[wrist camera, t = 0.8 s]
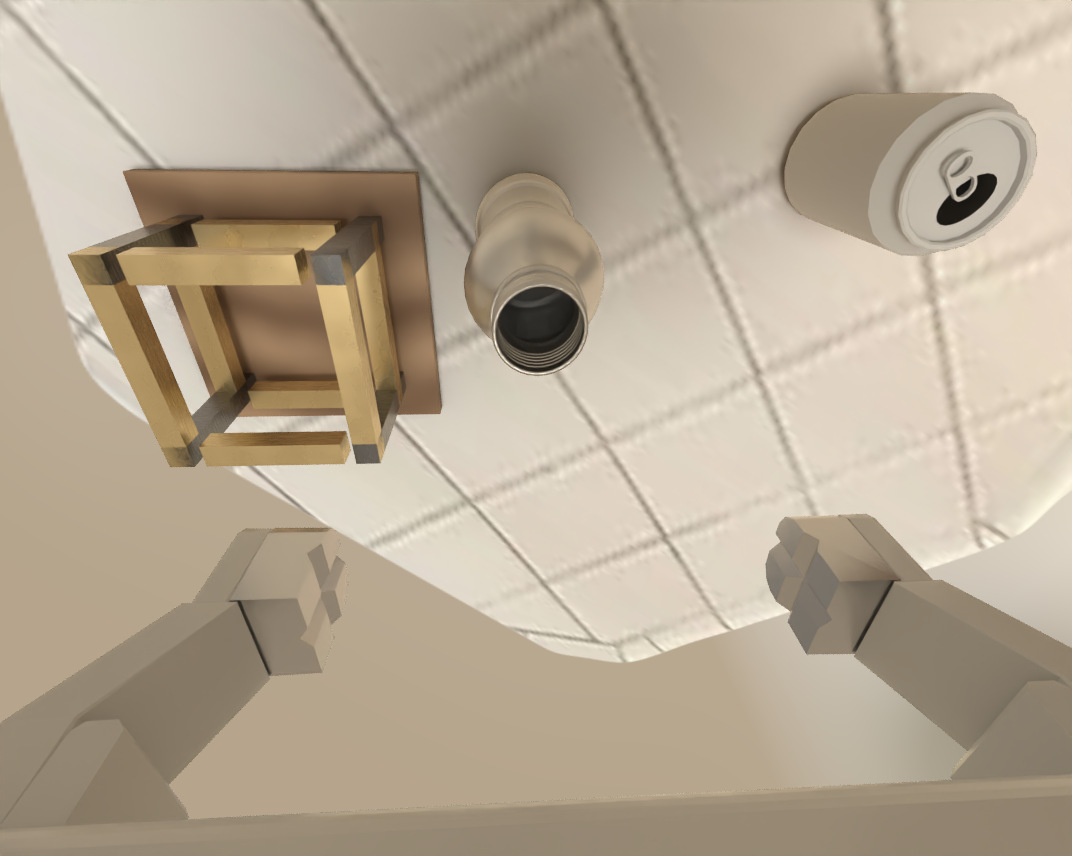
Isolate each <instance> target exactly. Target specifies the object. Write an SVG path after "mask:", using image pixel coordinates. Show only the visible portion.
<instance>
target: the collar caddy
mask: <svg viewBox="0 0 1072 856" xmlns="http://www.w3.org/2000/svg"><path fill="white" fill-rule="evenodd" d="M384 240H385V237H384V230H383V223H382V216H358V217H356V218H355V219H354V220H353V221H351V222H350V223H349V224H348V225H346V226H345V227H344V228H343V229H342V224H341V220H204V217H203V215H177V216H174V217H171V218H168V219H166V220H163V221H160V222H157V223H155V224H152V225H149V226H146V227H143V228H141V229H138V230H135V231H132V232H129V233H127V234H124V235H121V236H118V237H116V238H113V239H110V240H107V241H104V242H102V243H99V244H96V245H93V246H91V247H88V248H85V249H82V250H79V251H77V252H74V253H71V254H68V256H69V259H70V261H71V263H72V265H73V267H74V269H75V271H76V273H77V275H78V277H79V279H80V281H81V283H82V285H83V288H84V290H85V292H86V294H87V296H88V298H89V300H90V302H91V304H92V306H93V308H94V310H95V312H96V314H97V317H98V319H99V321H100V323H101V325H102V327H103V329H104V331H105V333H106V335H107V337H108V339H109V341H110V343H111V345H112V348H113V350H114V352H115V354H116V356H117V358H118V360H119V362H120V364H121V366H122V368H123V370H124V372H125V374H126V377H127V379H128V381H129V383H130V385H131V387H132V389H133V391H134V393H135V395H136V397H137V399H138V401H139V403H140V406H141V408H142V410H143V412H144V414H145V416H146V418H147V420H148V422H149V424H150V426H151V428H152V430H153V432H154V434H155V436H156V439H157V441H158V443H159V445H160V447H161V449H162V451H163V453H164V455H165V457H166V459H167V461H168V463H169V465H170V467H195V466H196V465H197V464H198V462H199V461H200V460H201V459H202V458H204V460H205V462H206V465H207V466H257V465H312V464H345V462H346V460H347V457H348V455H349V453H350V451H351V449H350V445H349V441H348V436H347V432H346V431H334V432H268V433H224V432H225V430H226V429H227V428H228V427H229V426H230V424H231V423H232V422H233V421H234V420H235V418H236V417H237V416H238V415H239V414H240V412H241V411H242V410H243V409H244V408H245V407H246V405H247V404H248V403H249V402H250V401H251V402H252V405H253V408H254V409H290V408H344V410H345V415H346V419H347V424H348V428H349V432H350V437H351V441H352V446H353V450H354V455H355V459H356V463H357V464H367V463H381V460H382V457H383V454H384V451H385V448H386V445H387V443H388V440H389V437H390V434H391V431H392V428H393V425H394V422H395V419H396V416H397V413H398V410H399V407H400V405H401V402H402V399H403V396H404V393H405V390H406V383H405V376H404V371H399V367H398V360H397V354H396V347H395V340H394V334H393V327H392V320H391V313H390V307H389V300H388V293H387V287H386V280H385V273H384V267H383V260H382V253H381V246H380V244H381V243H382V242H383V241H384ZM305 250H315V251H314V252H313V253H312V254H310V255H309V256H310V260H311V265H312V269H313V273H314V278H315V282H316V287H317V291H318V295H319V300H320V304H321V309H322V313H323V318H324V322H325V326H326V331H327V335H328V340H329V344H330V349H331V353H332V357H333V362H334V366H335V371H336V375H337V379H338V381H270V382H257V379H256V376H255V373H243V371H242V369H241V366H240V363H239V360H238V357H237V354H236V351H235V348H234V345H233V342H232V339H231V336H230V333H229V330H228V327H227V324H226V321H225V318H224V315H223V313H222V310H221V307H220V304H219V301H218V298H217V295H216V292H215V289H214V286H213V285H302V284H303V283H304V282H305V281H306V280H307V279H309V278H310V277H311V276H310V271H309V267H308V263H307V258H306V254H305ZM354 275H356V280H357V286H358V291H359V297H360V302H361V308H362V313H363V319H364V324H365V330H366V335H367V341H368V346H369V352H370V358H371V363H372V369H373V374H374V380H375V385H376V392H374V387H373V381H372V376H371V370H370V365H369V359H368V354H367V349H366V343H365V338H364V332H363V327H362V321H361V316H360V310H359V305H358V300H357V294H356V289H355V283H354V278H353V276H354ZM136 285H175V286H176V288H177V291H178V294H179V296H180V299H181V301H182V304H183V307H184V309H185V312H186V315H187V317H188V320H189V322H190V325H191V328H192V330H193V333H194V336H195V338H196V341H197V343H198V346H199V349H200V351H201V354H202V357H203V359H204V362H205V364H206V367H207V370H208V372H209V375H210V378H211V380H212V383H213V385H214V388H215V391H216V392H215V393H214V394H213V395H212V396H211V397H210V398H209V399H208V400H207V401H206V402H205V403H204V404H203V405H202V406H201V407H200V408H199V409H198V410H197V411H196V412H195V413H194V414H193V415H192V416H191V414H190V412H189V410H188V407H187V405H186V403H185V400H184V398H183V395H182V393H181V391H180V388H179V386H178V384H177V381H176V379H175V377H174V374H173V372H172V370H171V367H170V365H169V362H168V360H167V358H166V355H165V353H164V351H163V348H162V346H161V344H160V341H159V339H158V337H157V334H156V332H155V329H154V327H153V325H152V322H151V320H150V318H149V315H148V313H147V311H146V308H145V306H144V304H143V301H142V299H141V297H140V294H139V292H138V289H137V287H136Z"/></svg>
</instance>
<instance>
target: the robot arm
mask: <svg viewBox="0 0 1072 856" xmlns="http://www.w3.org/2000/svg"><path fill="white" fill-rule="evenodd" d="M776 535H777V536H778V538H779V540H780V543H779V544H777V545H776V546H775V547H774V548H773V549H771V550H770V551H769V554H768V558H767V561H766V579H767V582H768V585H769V588H770V591H771V593H772V594H773V596H774V598H775V600H776V602H778V603H779V604H781V605H782V606H784V607H785V608H786V609H788V610H789V611H790V615H789V619H788V623H789V624H790V627H791V628H792V630H793V632H794V633H795V635H796V637H797V639H798V640H799V642H800V644H801V646H802V647H803V649H804V651H805V653H806V654H855V655H854V657H855V658H856V659H858V660H859V661H860V662H861V663H863V664H864V665H865V666H866V667H867V668H868V669H870V670H871V671H872V672H873V673H875V674H876V675H877V676H878V677H879V678H881V679H882V680H883V681H884V682H886V683H887V684H888V685H889V686H890V687H892V688H893V689H894V690H895V691H896V692H897V693H899V694H900V695H901V696H902V697H903V698H905V699H906V700H907V701H908V702H909V703H911V704H912V705H913V706H914V707H915V708H917V709H918V710H919V711H920V712H921V713H923V714H924V715H925V716H926V717H927V718H929V719H930V720H931V721H932V722H933V723H935V724H936V725H937V726H938V727H939V728H941V729H942V730H943V731H944V732H945V733H947V734H948V735H949V736H950V737H952V738H953V739H954V740H955V741H956V742H957V743H959V744H960V745H961V746H962V747H963V748H965V749H966V750H967V751H968V752H967V753H966V754H965V755H964V756H963V757H962V759H961V760H960V761H959V762H958V763H957V764H956V766H955V767H954V768H953V771H952V774H951V779H952V780H941V781H921V782H902V783H883V784H863V785H843V786H823V787H803V788H784V789H766V790H765V789H764V790H744V791H725V792H705V793H686V794H666V795H646V796H628V797H610V798H591V799H590V798H589V799H570V800H553V801H552V800H551V801H533V802H532V801H531V802H514V803H495V804H494V803H493V804H474V805H456V806H435V807H417V808H399V809H398V808H397V809H378V810H359V811H340V812H320V813H302V814H282V815H262V816H243V817H224V818H205V819H188V818H189V816H188V813H187V811H186V808H185V807H184V805H183V804H182V803H181V801H180V800H179V799H178V797H177V796H176V795H175V793H174V792H173V791H172V789H171V788H170V787H169V784H170V783H171V782H172V781H173V780H174V779H175V778H176V777H177V775H178V774H179V773H180V772H181V771H182V770H183V769H184V768H185V767H186V766H187V765H188V764H189V763H190V762H191V761H192V760H193V759H194V758H195V757H196V756H197V755H198V753H200V752H201V750H202V749H203V748H204V747H205V746H206V745H207V744H208V743H209V742H210V741H211V740H212V739H213V738H214V737H215V736H216V735H217V734H218V733H219V732H220V731H221V730H222V729H223V728H224V727H225V725H226V724H227V723H228V722H229V721H230V720H231V719H232V718H233V717H234V716H235V715H236V714H237V713H238V712H239V711H240V710H241V709H242V708H243V707H244V705H246V704H247V703H248V702H249V701H250V699H251V698H252V697H253V696H254V695H255V694H256V693H257V692H258V691H259V690H260V689H261V688H262V687H263V686H264V685H265V684H266V683H267V682H268V681H269V679H270V677H269V676H278V675H294V674H309V673H322V672H323V669H324V666H325V663H326V660H327V657H328V655H329V652H330V649H331V646H332V643H333V640H334V635H333V631H332V628H331V624H333V623H334V622H335V621H336V620H337V619H338V618H339V617H340V616H341V615H342V613H343V610H344V606H345V603H346V598H347V590H348V575H347V569H346V564H345V562H344V561H342V560H341V559H340V558H339V557H338V556H336V554H337V552H338V549H339V547H340V541H339V538H338V535H337V531H336V530H334V529H332V528H275V529H245V530H243V531H241V532H240V533H238V534H237V536H236V537H235V539H234V540H233V542H232V543H231V545H230V546H229V548H228V549H227V551H226V552H225V554H224V555H223V557H222V558H221V560H220V561H219V563H218V564H217V566H216V567H215V569H214V570H213V572H212V573H211V575H210V576H209V578H208V579H207V581H206V582H205V584H204V586H203V587H202V588H201V590H200V591H199V593H198V595H197V596H196V598H195V599H194V601H193V602H192V603H183V604H181V605H179V606H178V607H176V608H174V609H173V610H172V611H170V612H168V613H167V614H165V615H164V616H162V617H161V618H159V619H158V620H156V621H155V622H153V623H152V624H150V625H149V626H147V627H145V628H144V629H143V630H141V631H140V632H138V633H136V634H135V635H133V636H132V637H130V638H129V639H127V640H126V641H124V642H123V643H121V644H120V645H118V646H117V647H115V648H114V649H112V650H110V651H109V652H107V653H106V654H104V655H103V656H101V657H100V658H98V659H97V660H95V661H94V662H92V663H91V664H89V665H88V666H86V667H84V668H83V669H81V670H80V671H78V672H77V673H75V674H74V675H72V676H71V677H69V678H68V679H66V680H65V681H63V682H62V683H60V684H58V685H57V686H55V687H54V688H52V689H51V690H49V691H48V692H46V693H45V694H43V695H42V696H40V697H39V698H37V699H36V700H34V701H33V702H31V703H30V704H28V705H26V706H25V707H24V708H22V709H21V710H19V711H17V712H16V713H14V714H13V715H11V716H10V717H8V718H7V719H5V720H4V721H2V722H1V724H0V856H1072V648H1070V647H1069V646H1067V645H1065V644H1063V643H1061V642H1059V641H1057V640H1055V639H1053V638H1052V637H1050V636H1048V635H1046V634H1044V633H1042V632H1040V631H1038V630H1036V629H1034V628H1032V627H1031V626H1028V625H1027V624H1025V623H1023V622H1021V621H1019V620H1017V619H1015V618H1013V617H1011V616H1009V615H1008V614H1006V613H1004V612H1002V611H1000V610H998V609H996V608H994V607H992V606H990V605H989V604H987V603H985V602H983V601H981V600H979V599H977V598H975V597H973V596H971V595H969V594H968V593H966V592H964V591H962V590H960V589H958V588H956V587H954V586H952V585H950V584H949V583H947V582H944V581H943V580H932V578H931V577H930V576H929V575H928V574H927V573H926V572H925V571H924V570H923V569H922V568H921V567H920V566H919V565H918V563H917V562H916V561H915V560H914V559H913V558H912V557H911V556H910V555H909V554H908V553H907V552H906V551H905V550H904V549H903V548H902V547H901V545H900V544H899V543H898V542H897V541H896V540H895V539H894V538H893V537H892V536H891V535H890V534H889V533H888V532H887V531H886V530H885V529H884V527H883V526H882V525H881V524H880V523H879V522H878V521H877V520H876V519H875V518H873V517H871V516H869V515H867V514H851V515H838V516H804V517H785V518H784V519H783V520H782V521H781V522H780V523H779V526H778V528H777V531H776Z"/></svg>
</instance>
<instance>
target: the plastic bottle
mask: <svg viewBox="0 0 1072 856" xmlns="http://www.w3.org/2000/svg"><path fill="white" fill-rule="evenodd" d="M475 232H476V240H477V241H476V243H475V245H474V247H473V249H472V251H471V253H470V255H469V258H468V261H467V265H466V268H465V277H464V289H465V298H466V301H467V304H468V308H469V311H470V312H471V314H472V316H473V318H474V320H475V322H476V323H477V324H478V326H479V327H480V328H481V329H482V331H483V332H484V333H485V334H486V335H487V336H488V337H489V338H490V339H492V340H493V343H494V346H495V349H496V351H497V353H498V355H499V356H500V357H501V359H502V360H503V361H504V362H505V363H506V364H507V365H508V366H509V367H511V368H512V369H514V370H516V371H518V372H520V373H523V374H526V375H534V376H541V375H548V374H552V373H555V372H557V371H560V370H562V369H563V368H565V367H566V366H568V365H569V364H570V363H571V362H573V361H574V360H575V359H576V358H577V356H578V355H579V353H580V352H581V351H582V348H583V346H584V344H585V342H586V338H587V334H588V324H589V323H590V321H591V320H592V318H593V316H594V314H595V312H596V310H597V307H598V305H599V302H600V299H601V295H602V291H603V284H604V269H603V262H602V258H601V255H600V252H599V249H598V246H597V245H596V243H595V241H594V240H593V238H592V236H591V235H590V233H589V232H588V231H587V230H586V229H585V228H584V227H583V226H582V225H581V224H580V223H579V222H578V221H576V220H575V219H574V217H573V211H572V208H571V205H570V202H569V200H568V198H567V197H566V195H565V193H564V192H563V191H562V190H561V189H560V188H559V186H558V185H557V184H555V183H554V182H553V181H551V180H550V179H548V178H546V177H543V176H541V175H538V174H532V173H518V174H515V175H511V176H508V177H506V178H504V179H503V180H501V181H499V182H498V183H497V184H495V185H494V186H493V187H492V188H491V189H490V190H489V191H488V193H487V194H486V195H485V196H484V198H483V200H482V202H481V204H480V206H479V209H478V212H477V216H476V224H475Z"/></svg>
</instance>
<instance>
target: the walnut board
mask: <svg viewBox="0 0 1072 856" xmlns="http://www.w3.org/2000/svg"><path fill="white" fill-rule="evenodd" d="M123 174H124V176H125V179H126V182H127V184H128V187H129V189H130V192H131V194H132V197H133V200H134V202H135V205H136V207H137V210H138V212H139V215H140V217H141V220H142V223H143V225H144V227H146V226H149V225H152V224H155V223H157V222H160V221H163V220H166V219H168V218H171V217H174V216H177V215H203V217H204V220H341V224H342V229H343V228H344V227H345V226H346V225H348V224H349V223H350V222H351V221H353V220H354V219H355V218H356V217H358V216H382V223H383V230H384V237H385V240H384V241H383V242H382V243H381V244H380V246H381V253H382V260H383V267H384V273H385V280H386V287H387V293H388V300H389V307H390V313H391V320H392V327H393V334H394V340H395V347H396V354H397V360H398V367H399V371H404V376H405V383H406V390H405V393H404V396H403V399H402V402H401V405H400V407H399V410H398V413H397V415H401V414H440V413H441V408H442V404H441V394H440V385H439V375H438V365H437V355H436V345H435V336H434V326H433V316H432V306H431V296H430V287H429V277H428V267H427V257H426V247H425V238H424V228H423V218H422V208H421V198H420V189H419V179H418V172H360V171H264V170H168V169H133V170H127V171H123ZM314 251H315V250H305V254H306V258H307V263H308V267H309V271H310V276H311V277H310V278H309V279H307V280H306V281H305V282H304V283H303V284H302V285H213V286H214V289H215V292H216V295H217V298H218V301H219V304H220V307H221V310H222V313H223V315H224V318H225V321H226V324H227V327H228V330H229V333H230V336H231V339H232V342H233V345H234V348H235V351H236V354H237V357H238V360H239V363H240V366H241V369H242V371H243V373H255V376H256V379H257V382H270V381H338V379H337V375H336V371H335V366H334V362H333V357H332V353H331V349H330V344H329V340H328V335H327V331H326V326H325V322H324V318H323V313H322V309H321V304H320V300H319V295H318V291H317V287H316V282H315V278H314V273H313V269H312V265H311V260H310V256H309V255H310V254H312V253H313V252H314ZM353 278H354V283H355V289H356V294H357V300H358V305H359V310H360V316H361V321H362V327H363V332H364V338H365V343H366V349H367V354H368V359H369V365H370V370H371V376H372V381H373V387H374V392H376V385H375V380H374V374H373V369H372V363H371V358H370V352H369V346H368V341H367V335H366V330H365V324H364V319H363V313H362V308H361V302H360V297H359V291H358V286H357V280H356V275H354V276H353ZM167 287H168V289H169V292H170V294H171V297H172V299H173V302H174V305H175V307H176V310H177V312H178V315H179V317H180V320H181V323H182V325H183V328H184V330H185V333H186V335H187V338H188V340H189V343H190V346H191V348H192V351H193V353H194V356H195V358H196V361H197V364H198V366H199V369H200V371H201V374H202V376H203V379H204V381H205V384H206V387H207V389H208V392H209V394H210V397H211V396H212V395H213V394H214V393H215V392H216V391H215V388H214V385H213V383H212V380H211V378H210V375H209V372H208V370H207V367H206V364H205V362H204V359H203V357H202V354H201V351H200V349H199V346H198V343H197V341H196V338H195V336H194V333H193V330H192V328H191V325H190V322H189V320H188V317H187V315H186V312H185V309H184V307H183V304H182V301H181V299H180V296H179V294H178V291H177V288H176V286H175V285H167ZM326 415H345V410H344V408H290V409H254V408H253V405H252V402H251V401H250V402H249V403H248V404H247V405H246V407H245V408H244V409H243V410H242V411H241V412H240V414H239V415H238V416H237V417H252V416H326Z"/></svg>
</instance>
